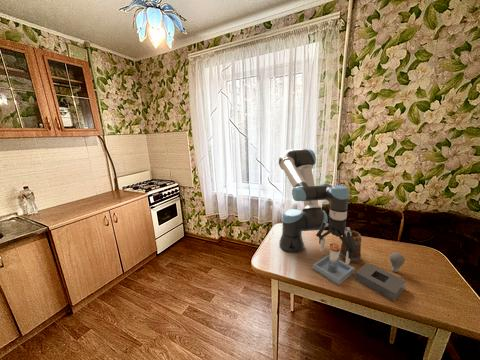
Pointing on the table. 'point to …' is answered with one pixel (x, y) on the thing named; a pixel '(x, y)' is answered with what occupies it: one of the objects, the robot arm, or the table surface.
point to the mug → (357, 241)
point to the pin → (333, 257)
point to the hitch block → (380, 281)
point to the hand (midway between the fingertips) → (334, 256)
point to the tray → (337, 277)
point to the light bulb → (396, 261)
